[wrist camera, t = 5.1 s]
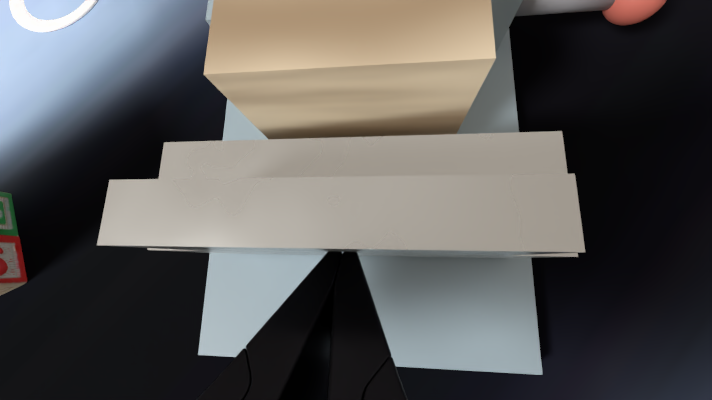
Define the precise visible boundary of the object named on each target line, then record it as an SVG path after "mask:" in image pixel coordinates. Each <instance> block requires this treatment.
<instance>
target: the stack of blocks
mask: <svg viewBox="0 0 712 400" xmlns="http://www.w3.org/2000/svg"><path fill="white" fill-rule="evenodd" d="M26 282H27V277H26V271H25V265H24V259H23V254H22V248H21V243H20V238H19V236H18V230H17V224H16V218H15V212H14V207H13V201H12V195H11V194H10V193H5V192H0V295H2V294H4V293H7V292H9V291H11V290H13V289H15V288H17V287H19V286H21V285H23V284H25V283H26Z"/></svg>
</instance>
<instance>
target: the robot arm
mask: <svg viewBox="0 0 712 400" xmlns="http://www.w3.org/2000/svg"><path fill="white" fill-rule="evenodd" d="M326 396H327V400H408V399H407V397H406V394H405V391H404V389H403V386H402V383H401V380H400V378H399V375H398V372H397V369H396V366H395V363H394V360H393V358H392V357H391V352H390V349H389V346H388V343H387V340H386V337H385V334H384V331H383V328H382V325H381V322H380V319H379V316H378V313H377V310H376V307H375V304H374V301H373V298H372V295H371V292H370V289H369V286H368V283H367V280H366V277H365V274H364V271H363V268H362V265H361V262H360V259H359V256H358V253H357V252H343V253H342V252H327V253H326V254H325V255H324V257H323V258H322V259H321V260H320V261H319V262H318V264H317V265H316V266H315V267H314V268H313V269H312V270H311V272H310V273H309V274H308V275H307V276H306V277H305V278H304V280H303V281H302V282H301V283H300V284H299V285H298V286H297V288H296V289H295V290H294V291H293V292H292V293H291V294H290V296H289V297H288V298H287V299H286V300H285V301H284V302H283V304H282V305H281V306H280V307H279V308H278V309H277V311H276V312H275V313H274V314H273V315H272V316H271V317H270V319H269V320H268V321H267V322H266V323H265V324H264V325H263V327H262V328H261V329H260V330H259V331H258V332H257V333H256V335H255V336H254V337H253V338H252V339H251V340H250V341H249V343H248V344H247V345H246V349H245V348H243V349H242V350H241V352H240V353H239V354H238V355H237V356H236V357H235V358H234V360H233V361H232V362H231V363H230V364H229V365H228V366H227V367H226V368H225V370H224V371H223V372H222V373H221V374H220V375H219V376H218V377H217V378H216V379H215V380H214V382H213V383H212V384H211V385H210V386H209V387H208V388H207V389H206V390H205V391H204V392H203V393H202V394H201V395H200V396H199V397H198V398H197V399H196V400H326Z"/></svg>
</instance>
